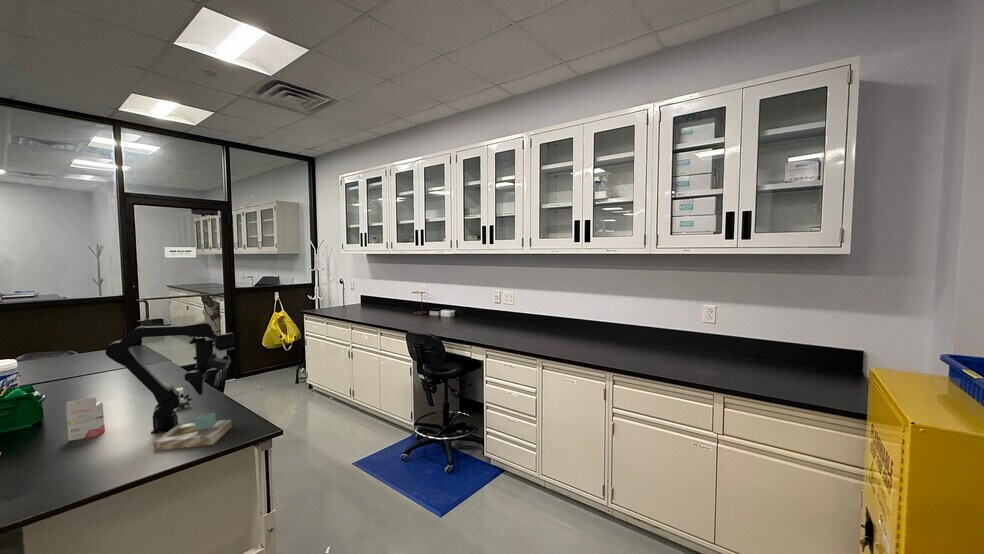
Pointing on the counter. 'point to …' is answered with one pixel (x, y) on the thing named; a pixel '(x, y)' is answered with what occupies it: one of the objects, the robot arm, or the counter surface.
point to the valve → (183, 398)
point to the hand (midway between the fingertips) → (206, 390)
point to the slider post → (205, 421)
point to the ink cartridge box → (84, 419)
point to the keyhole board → (193, 442)
